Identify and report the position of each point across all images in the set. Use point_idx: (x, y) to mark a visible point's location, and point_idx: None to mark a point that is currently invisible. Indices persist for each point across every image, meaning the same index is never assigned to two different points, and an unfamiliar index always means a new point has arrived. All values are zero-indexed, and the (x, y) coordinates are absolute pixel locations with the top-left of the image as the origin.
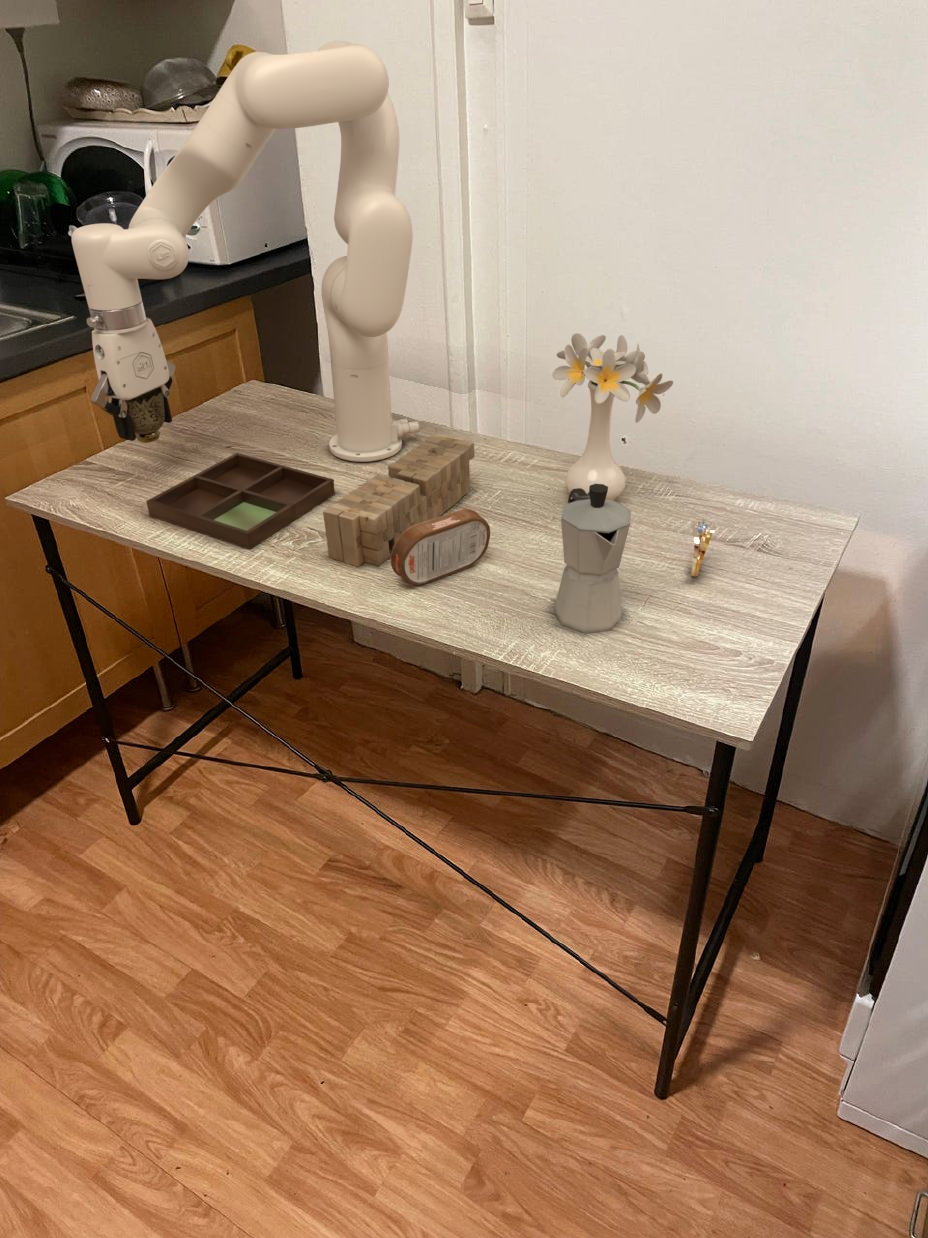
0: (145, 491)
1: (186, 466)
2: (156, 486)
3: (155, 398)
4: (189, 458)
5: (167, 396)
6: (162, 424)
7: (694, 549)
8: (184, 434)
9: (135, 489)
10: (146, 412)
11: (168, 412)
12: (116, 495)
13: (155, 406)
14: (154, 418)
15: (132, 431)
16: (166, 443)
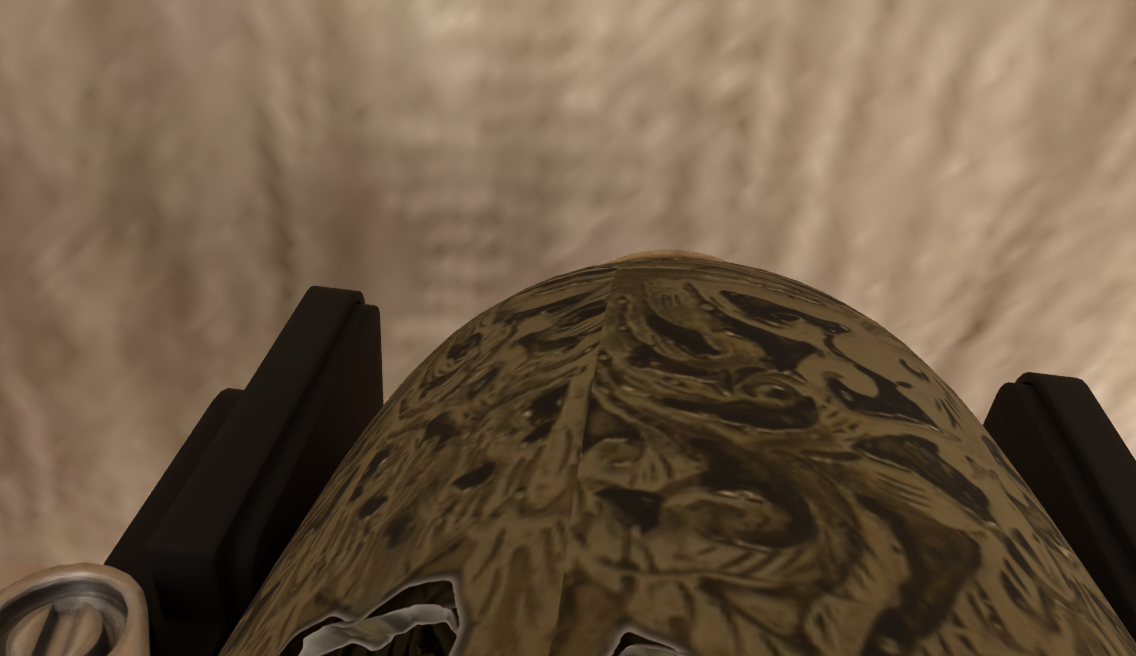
0: (860, 124)
1: (355, 109)
2: (751, 100)
3: (785, 642)
4: (242, 176)
5: (96, 579)
6: (581, 269)
7: None
8: (20, 421)
9: (850, 215)
10: (1006, 511)
11: (300, 372)
12: (981, 277)
13: (797, 474)
14: (816, 342)
15: (1109, 458)
16: (181, 442)
